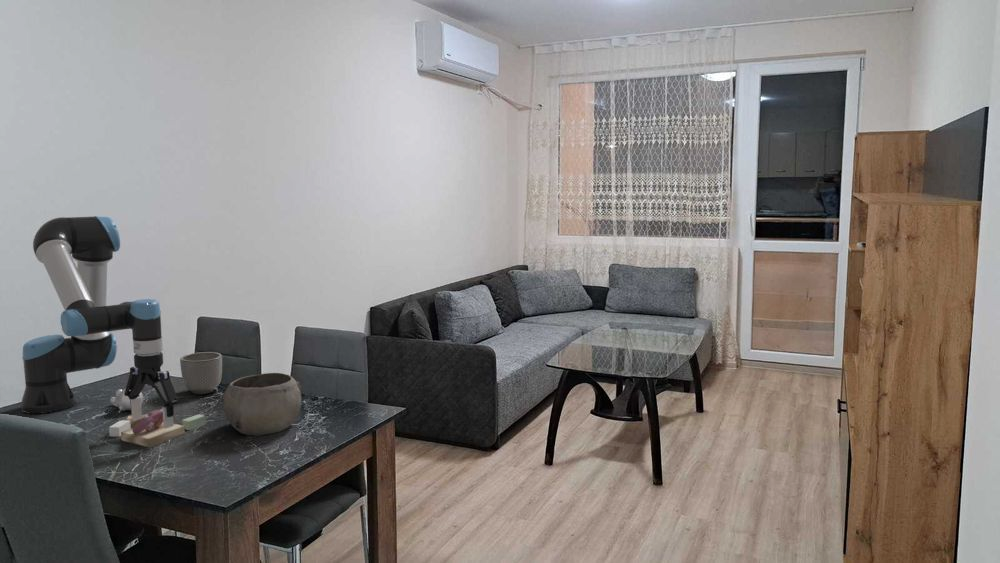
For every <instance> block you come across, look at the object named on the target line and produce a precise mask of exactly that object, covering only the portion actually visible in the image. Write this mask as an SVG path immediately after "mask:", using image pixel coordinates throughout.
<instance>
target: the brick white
mask: <svg viewBox="0 0 1000 563" xmlns="http://www.w3.org/2000/svg"><path fill="white" fill-rule="evenodd" d="M131 428H132V427H131V425H130V421H127V419H125V420H119V421H117V422H116V423H114V424H112V425H110V426H109V427H108V431H109V437H121V432H123V431H126V430H128V429H131Z"/></svg>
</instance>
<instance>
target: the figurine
mask: <svg viewBox="0 0 1000 563" xmlns="http://www.w3.org/2000/svg"><path fill="white" fill-rule="evenodd" d="M125 389H126V387H124V389H117V390H116V392H115V395H116V396H112V397H111V398H110V399H109V401H110V403H111V404H112V406H114V407H115V408H118V409H119V410H118V414H120V413H121V411H122V412H125V411H132V410H131V404H130V399H129V397H128V396H125V395H124V393H125ZM130 391H131V390H130ZM139 397H140V398H141V406H142V405H143V403H144V394H143V393H142V392H141V393H140V394H139ZM137 398H138V397H137Z"/></svg>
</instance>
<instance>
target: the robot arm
mask: <svg viewBox="0 0 1000 563" xmlns="http://www.w3.org/2000/svg"><path fill="white" fill-rule="evenodd" d="M32 248H33V253H34V255H35V257H36V259H37V261H38V262H39V263H42V264H43V265H44V266H43V267H44V268H45V270H46V273H47V274H48V278H49V279H50V281H51V283H52V285H53V288H54V290H55V292H56V294H57V296H58V298H59V301H60V303H61V305H62V307H63V311H62V312H61V314H60V325H61V326H60V327H61V330H62V333H64V335H66V338H65V337H64V336H63V335H62V334H51V335H50V334H49V335H43V336H38V337H37V338H36V337H35V338H32V339H31V340H29V341H26V342H25V343H24V345H23V346H22V357H21V358H22V360H23V361H22V363H23V370H24V382H25V388H24V391H23V392H24V393H23V395H22V398H21V402H20V410H23V411H26V412H29V413H41V414H43V413H42V412H50V411H55V412H59V411H58V410H60V411H63V410H62V409H64V410H66V408H67V409H69V408H71V407H73V406H74V405H76V404H75V403H76V401H75V400H76V398H75V394H73V391H72V389H71V387H70V385H69V383H68V377H67V374H69V373H75V372H80V371H81V372H82V371H86V370H87V371H88V370H93V369H101V368H103V367H108V366H110V365H112V364H113V363H114V361H115V360H116V356H117V350H118V347H117V346H118V345H117V338H116V335H115V334H114V333H113V332H116V331H117V332H118V331H124V330H130V329H131V331H132V342H133V353H134V355H133V363H134V366H132V367H130V368H129V377H128V380H127V384H126V386H125V388H126V389H125V388H124V389H125V393H124V395H125V396H128V397H129V399H130V404H131V410H130V411H131V416H132V421H136V420H139V419H142V415H143V413H142V405H141V398H140V397H139V394H140V393H142V391H143V389H144V388H145V386H146V385H148V386H151V387H152V388H153V389H154V390H155V391H156V393H157V395H158V397H159V398H160V400H161V402H162V403H163V406H162V410H163V424H164V428H165V429H166V428H169V427H172V426H174V425H173V424H174V415H175V414H174V413H175V412H174V405H178V403H179V402H180V401H179V398H178V395H177V393H176V390H175V389H174V386H173V383H172V381H171V376H170V371H169V370H165V371H162V369H161V367H162V366H163V365H164V355H163V352H162V351H163V350H164V349H163V336H162V320H161V319H162V318H161V315H162V311H161V306H160V302H159V301H158V300H156V299H149V298H148V299H147V298H145V299H137V300H133V301H123V302H121V303H119V304H112V305H107V287H108V286H107V285H108V280H107V279H108V263H109V262H110V261H111V260H113V257H114V256H113V254H114V253H116V252H118V251H119V250H120V248H121V237H120V233H119V230H118V227H117V224H116V223H115V221H114V219H112V218H110V217H108V216H97V215H94V216H75V217H73V216H72V217H64V216H63V217H56V218H52V219H50V220H48V221H47V222H45V223H44V224H43V225H41V226H40V227H39V228H38V230H37V232H35V235H34V238H33V242H32ZM75 261H76V263H77V265H76V263H75ZM130 390H131V391H130ZM137 397H138V398H137ZM29 413H28V414H29ZM50 413H51V412H50Z"/></svg>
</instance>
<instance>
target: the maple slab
mask: <svg viewBox="0 0 1000 563" xmlns="http://www.w3.org/2000/svg"><path fill="white" fill-rule="evenodd" d="M153 424H154V423H153ZM173 425H174V426H172V427H169V428H166V429H165V428H164V424H163V423H162V424H161V426H160V427H159V428H155V427H153V429H152V430H151V431H150V432H148V431H146V430H143V431H142V432H140V433H138V434H134V433H133V431H132V429H133V427H131V429H128V430H126V431H123V432H121V436H120V437H121V438H120V439H121V441H122V442H127V443H130V444H134V445H140V446H142V447H147V448H151V447H154V446H157V445H159V444H162V443H165V442H168V441H170V440H173V439H175V438H179V437H181V436H184V435H185V434H186V432H185V431H186V429H185V428H184V426H182V424H177V423H173ZM178 436H179V437H178Z"/></svg>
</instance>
